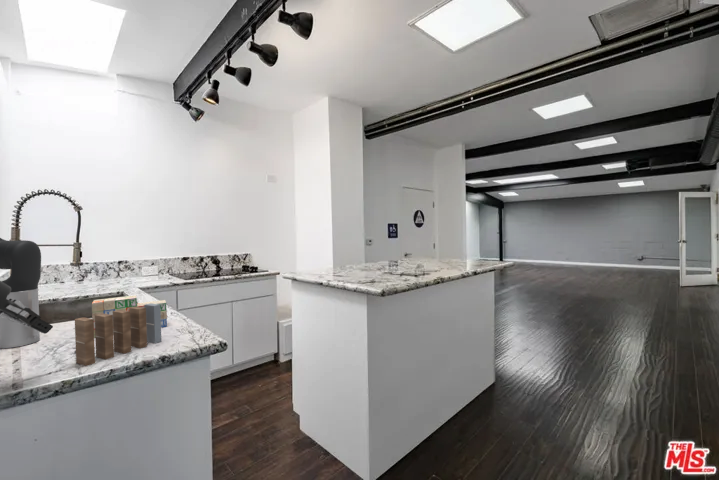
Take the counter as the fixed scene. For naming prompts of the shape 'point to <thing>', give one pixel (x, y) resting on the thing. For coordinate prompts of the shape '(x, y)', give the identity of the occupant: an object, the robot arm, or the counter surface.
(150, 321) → the domino
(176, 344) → the counter surface
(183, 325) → the counter surface
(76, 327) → the domino
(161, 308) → the stack of blocks
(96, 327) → the domino
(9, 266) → the robot arm
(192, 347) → the counter surface
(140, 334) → the domino
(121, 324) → the domino
